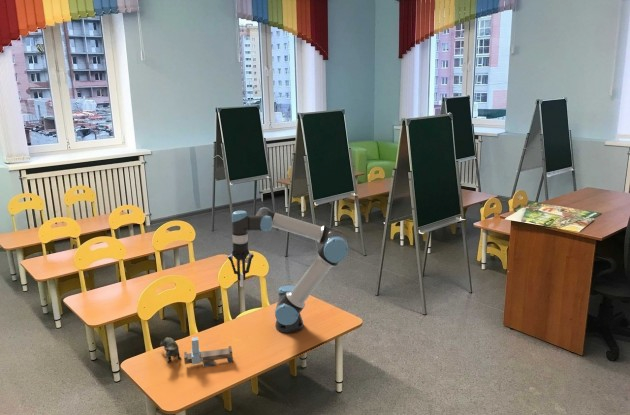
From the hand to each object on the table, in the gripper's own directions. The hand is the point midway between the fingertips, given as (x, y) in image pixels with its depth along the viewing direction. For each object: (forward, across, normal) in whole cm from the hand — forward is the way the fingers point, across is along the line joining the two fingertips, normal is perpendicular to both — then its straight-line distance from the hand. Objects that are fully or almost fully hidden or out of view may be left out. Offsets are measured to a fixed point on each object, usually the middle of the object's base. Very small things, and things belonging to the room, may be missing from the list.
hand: (241, 285), depth 254 cm
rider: (+26, +25, +20) cm, 41 cm away
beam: (+29, +19, +20) cm, 40 cm away
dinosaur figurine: (+30, +36, +10) cm, 48 cm away
